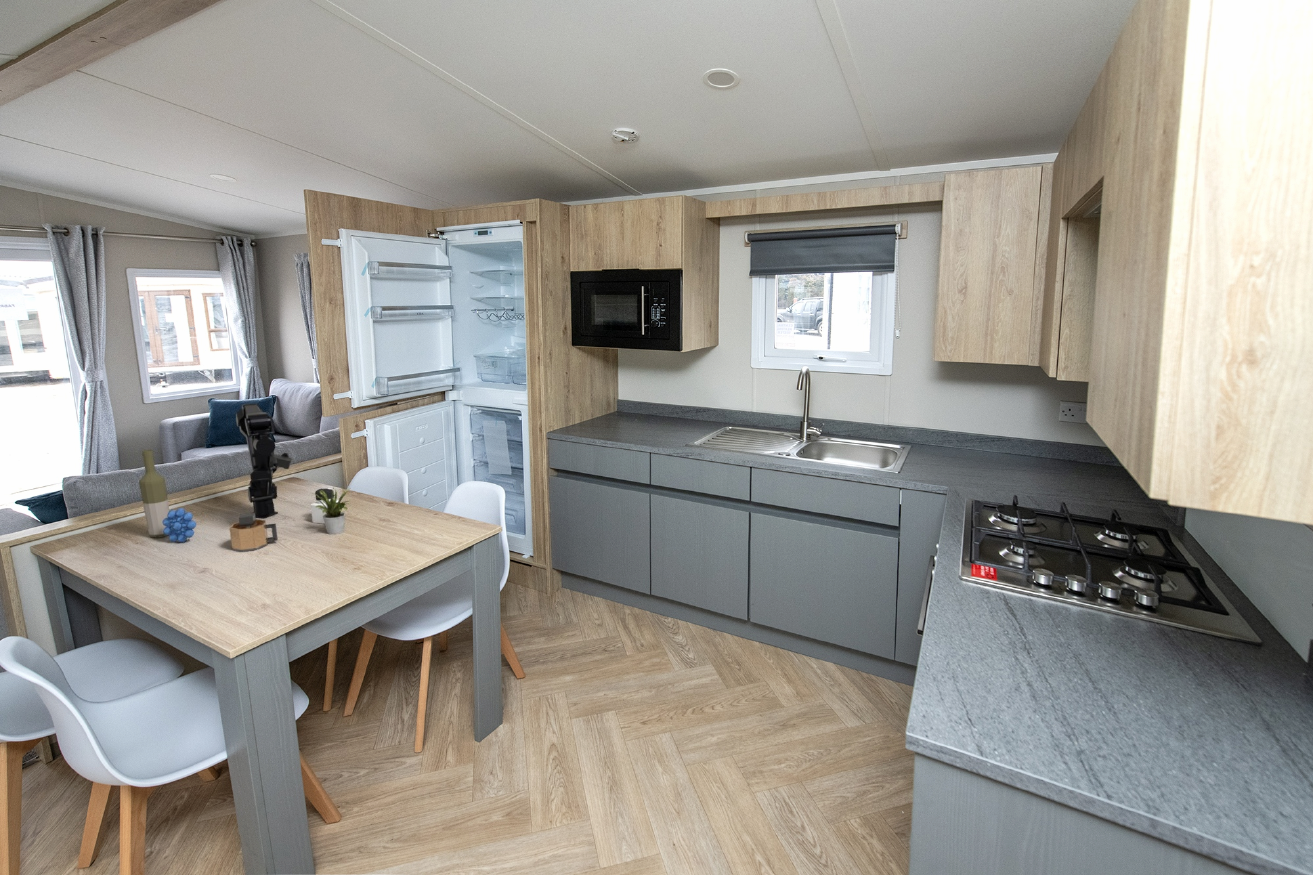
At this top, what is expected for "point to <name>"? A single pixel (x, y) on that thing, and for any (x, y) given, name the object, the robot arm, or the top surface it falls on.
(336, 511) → the house plant
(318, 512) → the medicine bottle
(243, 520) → the grey cube on disc
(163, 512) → the bottle
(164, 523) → the grapes
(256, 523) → the octagonal wooden mug
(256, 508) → the robot arm
